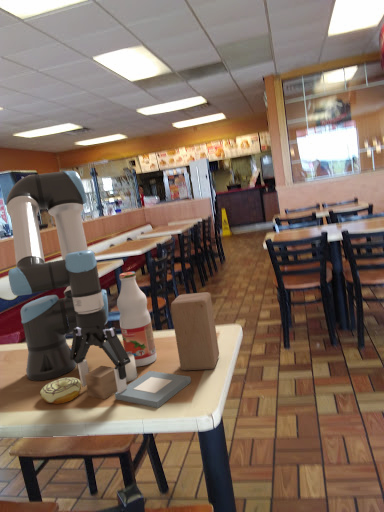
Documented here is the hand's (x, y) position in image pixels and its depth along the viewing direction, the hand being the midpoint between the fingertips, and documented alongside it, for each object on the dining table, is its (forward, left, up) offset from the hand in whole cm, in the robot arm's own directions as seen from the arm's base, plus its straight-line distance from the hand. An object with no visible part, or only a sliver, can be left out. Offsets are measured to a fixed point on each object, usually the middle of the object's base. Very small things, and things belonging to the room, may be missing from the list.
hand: (104, 387), depth 111 cm
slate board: (+12, +5, -2) cm, 14 cm away
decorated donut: (-11, -5, -2) cm, 12 cm away
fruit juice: (-5, +20, -2) cm, 21 cm away
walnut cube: (-1, 0, -2) cm, 2 cm away
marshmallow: (-1, +9, -2) cm, 10 cm away
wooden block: (+15, +23, -2) cm, 28 cm away
